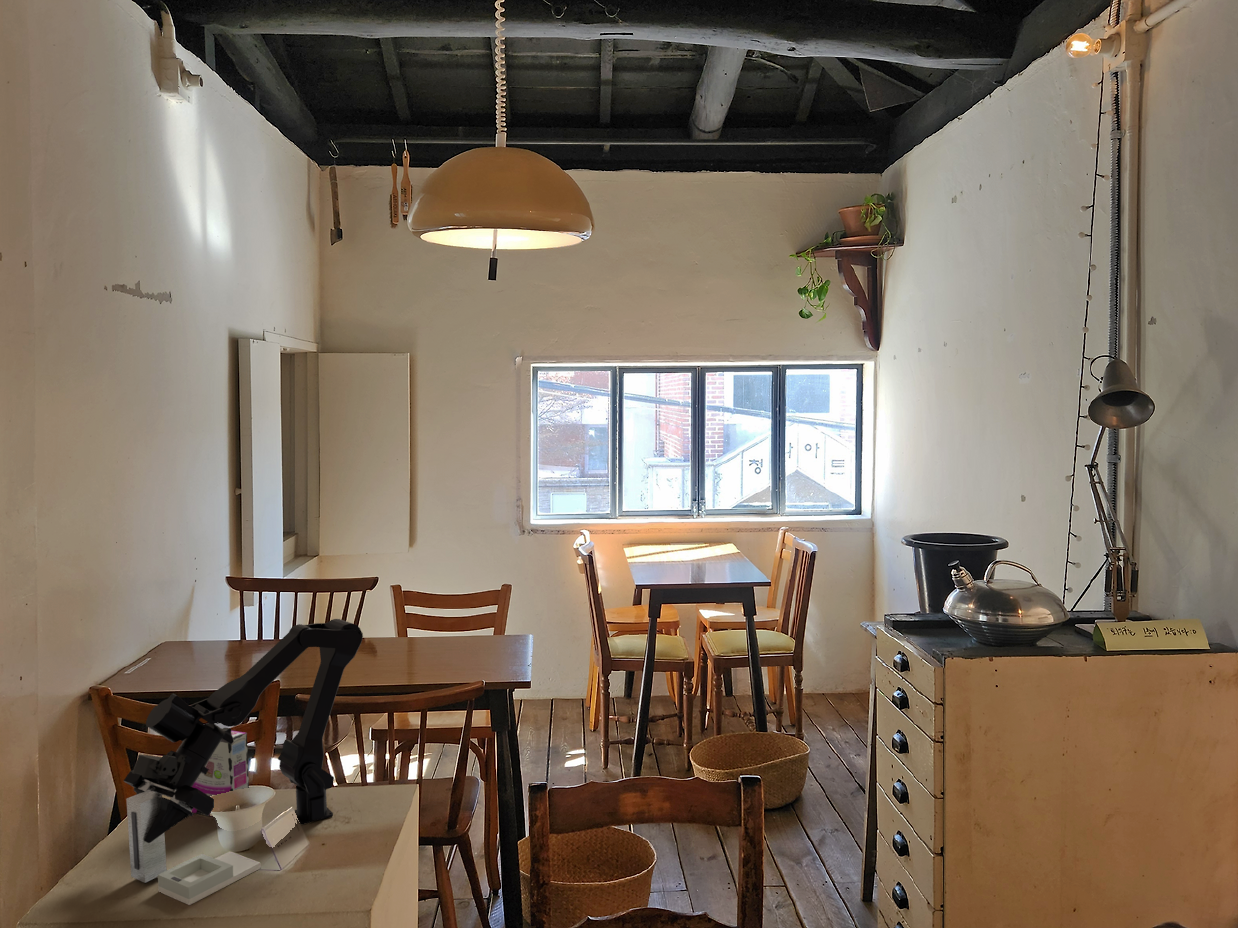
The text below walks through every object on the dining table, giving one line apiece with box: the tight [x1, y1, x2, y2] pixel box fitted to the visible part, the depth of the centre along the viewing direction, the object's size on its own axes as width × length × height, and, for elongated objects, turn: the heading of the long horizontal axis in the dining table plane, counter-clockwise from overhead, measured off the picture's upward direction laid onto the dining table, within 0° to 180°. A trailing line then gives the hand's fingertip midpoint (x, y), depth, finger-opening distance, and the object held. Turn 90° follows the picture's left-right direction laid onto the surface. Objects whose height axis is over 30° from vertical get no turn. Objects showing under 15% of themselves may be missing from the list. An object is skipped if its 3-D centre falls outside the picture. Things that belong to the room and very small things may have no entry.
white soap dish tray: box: [157, 850, 262, 906], centre depth 164 cm, size 14×8×3 cm, turn 149°
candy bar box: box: [191, 730, 250, 816], centre depth 190 cm, size 11×5×16 cm, turn 68°
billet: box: [125, 790, 168, 884], centre depth 164 cm, size 4×4×14 cm
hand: (139, 838), depth 163 cm, fingers closed on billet, 4 cm apart
